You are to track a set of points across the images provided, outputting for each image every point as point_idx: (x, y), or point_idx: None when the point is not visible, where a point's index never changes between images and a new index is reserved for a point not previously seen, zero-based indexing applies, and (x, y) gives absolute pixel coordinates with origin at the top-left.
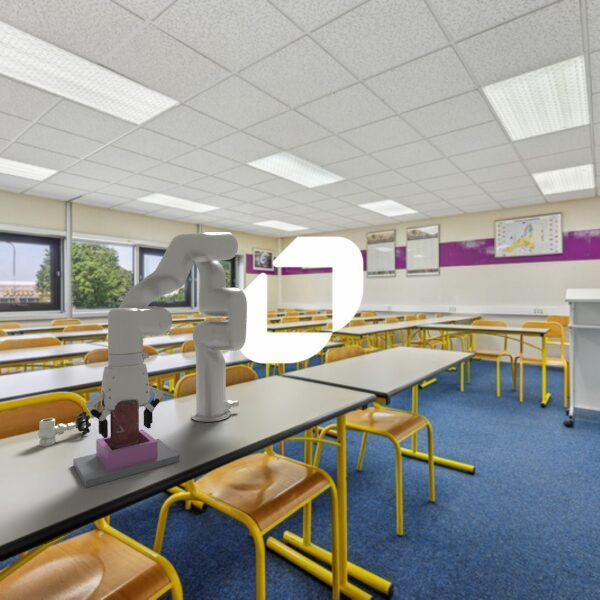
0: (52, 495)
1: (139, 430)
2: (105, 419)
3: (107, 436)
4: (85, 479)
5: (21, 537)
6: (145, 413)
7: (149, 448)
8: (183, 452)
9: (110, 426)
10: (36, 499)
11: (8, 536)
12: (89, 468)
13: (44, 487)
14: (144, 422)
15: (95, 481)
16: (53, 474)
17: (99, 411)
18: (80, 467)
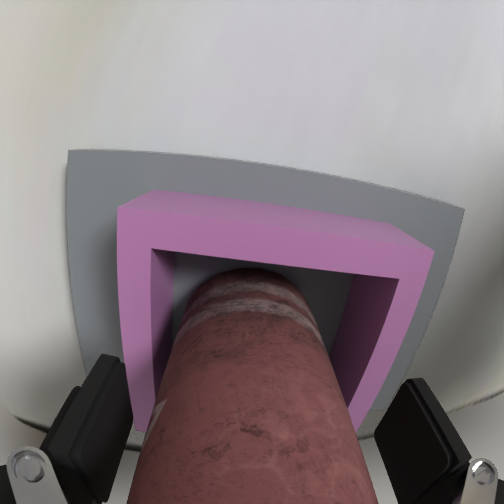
0: (29, 338)
1: (412, 258)
2: (89, 498)
3: (131, 421)
4: (87, 375)
5: (22, 419)
6: (420, 478)
7: None
8: (435, 345)
9: (147, 428)
10: (5, 327)
11: (6, 404)
12: (101, 311)
13: (8, 275)
14: (405, 411)
15: None
16: (24, 191)
17: (15, 498)
18: (75, 273)
